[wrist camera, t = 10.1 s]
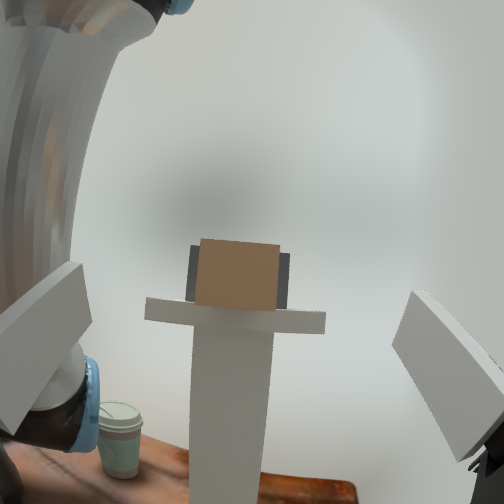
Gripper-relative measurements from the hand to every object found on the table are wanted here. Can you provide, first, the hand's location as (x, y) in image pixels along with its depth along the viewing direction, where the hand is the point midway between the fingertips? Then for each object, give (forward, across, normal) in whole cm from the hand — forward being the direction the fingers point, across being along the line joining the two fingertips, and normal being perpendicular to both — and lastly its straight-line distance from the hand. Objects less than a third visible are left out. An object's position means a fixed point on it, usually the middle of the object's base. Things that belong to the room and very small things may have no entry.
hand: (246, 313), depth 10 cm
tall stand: (-3, 0, -33) cm, 33 cm away
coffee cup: (+9, -17, -40) cm, 45 cm away
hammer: (+8, 0, -5) cm, 10 cm away
